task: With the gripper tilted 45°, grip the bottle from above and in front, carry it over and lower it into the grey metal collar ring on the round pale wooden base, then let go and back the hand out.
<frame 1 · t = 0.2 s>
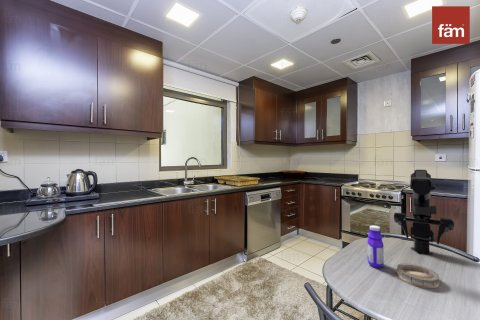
hand: (422, 241, 87), 15 cm above the table, tool tilted 35°, fingers open, 9 cm apart
collar base: (417, 278, 87), on the table
bottle: (375, 265, 98), on the table
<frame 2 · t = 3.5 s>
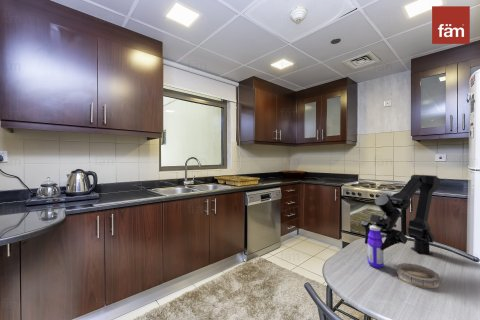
hand: (373, 246, 98), 9 cm above the table, tool tilted 45°, fingers closed on bottle, 7 cm apart
bottle: (375, 265, 98), on the table, touching gripper
when the fingers open (11 cm above the table, at t = 6.9 s): bottle drops 1 cm, resting on collar base.
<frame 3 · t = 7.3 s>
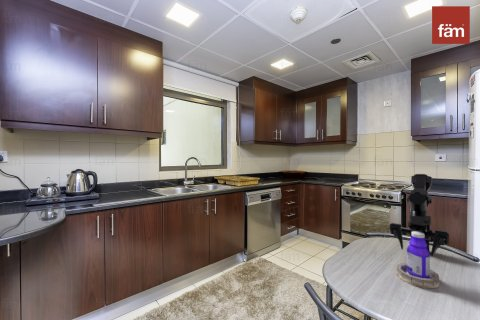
hand: (416, 252, 86), 11 cm above the table, tool tilted 45°, fingers open, 9 cm apart
bottle: (418, 276, 87), point 1 cm above the table, touching collar base
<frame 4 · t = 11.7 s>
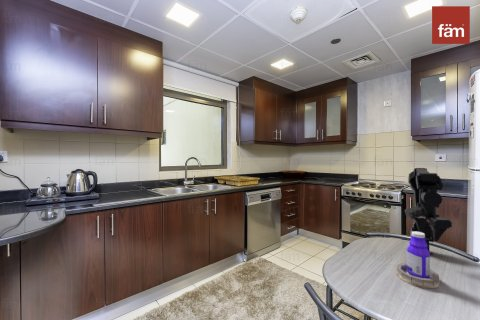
hand: (428, 237, 96), 13 cm above the table, tool pointing down, fingers open, 9 cm apart
nothing on the table moved.
at the end: bottle 0.4 cm off-centre on the collar base, point 0.8 cm above the collar base's base; bottle tilted 0°; the gripper is holding nothing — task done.
